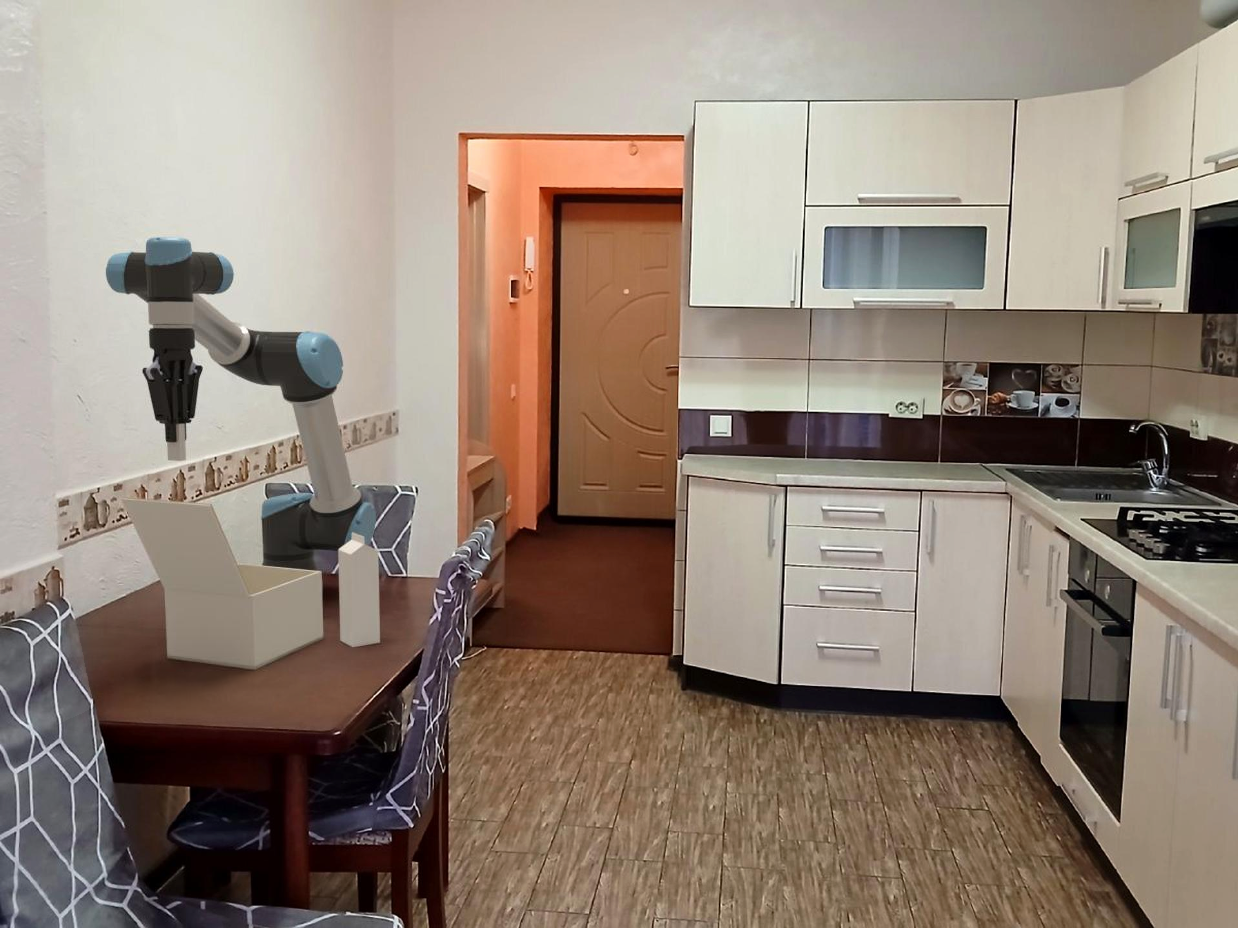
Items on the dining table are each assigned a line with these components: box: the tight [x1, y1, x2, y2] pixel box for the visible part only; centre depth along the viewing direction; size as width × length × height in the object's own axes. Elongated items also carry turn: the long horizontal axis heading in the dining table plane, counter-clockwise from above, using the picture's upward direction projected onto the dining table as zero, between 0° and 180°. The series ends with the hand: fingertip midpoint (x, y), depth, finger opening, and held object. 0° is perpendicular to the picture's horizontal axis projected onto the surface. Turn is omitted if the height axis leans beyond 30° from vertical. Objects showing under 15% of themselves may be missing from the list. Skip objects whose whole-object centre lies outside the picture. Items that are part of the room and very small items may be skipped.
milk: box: [337, 532, 381, 648], centre depth 233 cm, size 6×6×22 cm
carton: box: [163, 563, 324, 671], centre depth 228 cm, size 22×20×14 cm
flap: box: [120, 496, 250, 597], centre depth 211 cm, size 21×19×1 cm
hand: (176, 460), depth 208 cm, fingers closed
